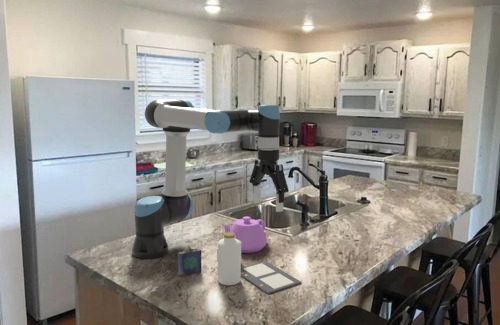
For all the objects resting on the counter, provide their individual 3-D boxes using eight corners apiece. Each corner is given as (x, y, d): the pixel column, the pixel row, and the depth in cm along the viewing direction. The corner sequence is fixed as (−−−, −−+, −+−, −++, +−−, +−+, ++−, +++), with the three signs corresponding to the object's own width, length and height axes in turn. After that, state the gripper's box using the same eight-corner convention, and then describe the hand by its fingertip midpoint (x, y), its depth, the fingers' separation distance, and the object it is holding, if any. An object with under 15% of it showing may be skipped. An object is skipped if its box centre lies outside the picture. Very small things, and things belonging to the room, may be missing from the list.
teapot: (252, 236, 198) (252, 208, 195) (278, 246, 185) (279, 217, 182) (209, 248, 182) (209, 218, 179) (235, 260, 168) (235, 228, 166)
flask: (179, 277, 153) (178, 249, 151) (176, 274, 156) (176, 247, 154) (202, 272, 157) (202, 245, 156) (199, 269, 160) (199, 243, 158)
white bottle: (217, 276, 154) (217, 230, 151) (240, 276, 154) (240, 230, 151) (217, 287, 146) (217, 238, 143) (241, 286, 146) (241, 237, 143)
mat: (267, 294, 141) (267, 292, 140) (233, 271, 159) (233, 269, 158) (301, 283, 149) (301, 281, 149) (265, 262, 167) (265, 261, 167)
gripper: (299, 152, 138) (298, 213, 141) (256, 144, 158) (256, 198, 162) (282, 153, 134) (281, 217, 137) (240, 145, 154) (240, 200, 158)
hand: (267, 206), depth 150 cm, fingers open, 13 cm apart
